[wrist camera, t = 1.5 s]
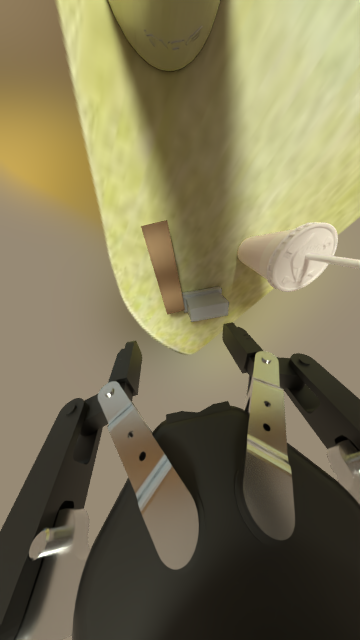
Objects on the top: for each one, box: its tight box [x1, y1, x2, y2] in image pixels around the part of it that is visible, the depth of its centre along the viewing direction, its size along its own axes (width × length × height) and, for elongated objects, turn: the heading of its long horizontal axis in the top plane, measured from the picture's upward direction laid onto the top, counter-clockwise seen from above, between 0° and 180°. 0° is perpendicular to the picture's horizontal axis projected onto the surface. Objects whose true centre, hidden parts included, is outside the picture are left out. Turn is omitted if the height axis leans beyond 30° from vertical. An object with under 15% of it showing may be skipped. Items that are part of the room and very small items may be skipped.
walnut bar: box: [141, 220, 185, 314], centre depth 20 cm, size 12×3×4 cm, turn 11°
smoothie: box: [237, 222, 360, 292], centre depth 15 cm, size 6×6×14 cm
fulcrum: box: [182, 286, 229, 322], centre depth 22 cm, size 4×7×5 cm, turn 97°
